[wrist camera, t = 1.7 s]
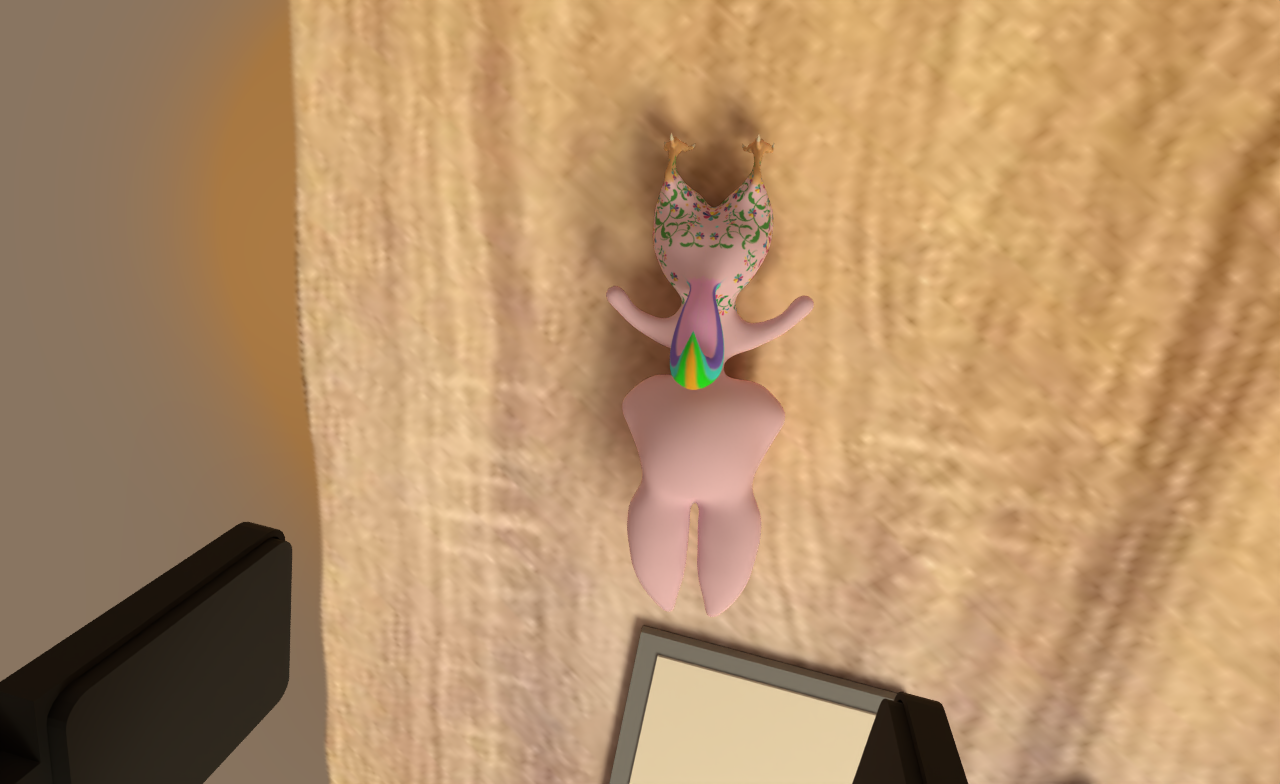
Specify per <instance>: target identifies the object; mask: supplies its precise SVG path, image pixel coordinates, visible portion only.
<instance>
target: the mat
mask: <svg viewBox="0 0 1280 784" xmlns="http://www.w3.org/2000/svg"><path fill="white" fill-rule="evenodd" d="M896 695H897V693H894V692H890V691H886V690H882V689H879V688H875V687H871V686H867V685H864V684H860V683H856V682H853V681H849V680H845V679H841V678H838V677H834V676H830V675H826V674H823V673H819V672H815V671H811V670H808V669H804V668H800V667H796V666H793V665H789V664H785V663H781V662H778V661H774V660H770V659H767V658H763V657H759V656H755V655H752V654H748V653H744V652H740V651H737V650H733V649H729V648H725V647H722V646H718V645H714V644H710V643H707V642H703V641H699V640H695V639H692V638H688V637H684V636H681V635H677V634H673V633H669V632H666V631H662V630H658V629H654V628H651V627H647V626H643V627H642V631H641V635H640V639H639V644H638V649H637V654H636V659H635V663H634V668H633V673H632V678H631V683H630V687H629V692H628V697H627V702H626V707H625V711H624V716H623V721H622V726H621V731H620V735H619V740H618V745H617V750H616V755H615V759H614V764H613V769H612V774H611V779H610V783H609V784H852V783H853V780H854V777H855V774H856V771H857V768H858V766H859V763H860V760H861V757H862V754H863V751H864V748H865V745H866V743H867V740H868V737H869V734H870V731H871V728H872V725H873V723H874V720H875V717H876V714H877V711H878V708H879V706H880V703H881V701H882V700H883V699H889V700H893V701H894V699H895V696H896Z"/></svg>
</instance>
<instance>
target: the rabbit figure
mask: <svg viewBox="0 0 1280 784" xmlns="http://www.w3.org/2000/svg"><path fill="white" fill-rule="evenodd" d="M694 147H695V143H694V144H693V145H692V146H690V147H689V146H687V144H686V143H684V142H682V141H680V140H679V139H678V138H677V137H673V136H672V133H671V136H670V141H669V142H667V143H665V142H664V150H665V151H669V164H668V167H667V169H666V172H665V181H664V183H663V186H662V189H661V192H660V195H659V198H658V201H657V205H656V208H655V215H654V226H653V244H654V250H655V254H656V257H657V259H658V262H659V264H660V267H661V269H662V271H663V273H664V275H665V276H666V278H667V279H668V281H669V282H670V283H671V285H672V286H673V287H674V288H675V289H676V291H677V292H678V293H679V295H680V297H681V300H682V303H681V306H680V308H679V310H678V311H677V312H676V313H675V314H674V315H673V316H671V317H668V318H659V317H655V316H652V315H650V314H648V313H646V312H644V311H642V310H640V309H639V308H637V307H636V306H635V305H634V304H633V303H632V302H631V300H630V299H629V297H628V296H627V294H626V293H625V291H624V290H623V289H621V288H620V287H618V286H613V287H611V288H609V289H608V290H607V293H606V297H607V299H608V301H609V302H610V304H611V305H612V306H613V307H614V308H615V309H616V310H617V311H618V312H619V313H620V314H621V315H622V316H623V317H624V318H625V319H626V320H627V321H628V322H629V323H630V324H631V325H632V326H633V327H635V328H636V329H637V330H639V331H640V332H642V333H643V334H645V335H647V336H648V337H650V338H651V339H653V340H654V341H656V342H658V343H660V344H662V345H664V346H666V347H669V348H670V349H671V350H670V370H671V375H668V374H664V375H655V376H651V377H649V378H647V379H645V380H643V381H642V382H640V383H639V384H638V385H636V386H635V387H634V388H633V389H632V390H631V391H630V392H629V393H628V394H627V395H626V396H625V398H624V400H623V403H622V411H623V414H624V417H625V419H626V422H627V424H628V426H629V429H630V431H631V434H632V436H633V439H634V442H635V444H636V447H637V450H638V453H639V457H640V461H641V466H642V473H643V476H642V481H641V484H640V486H639V488H638V489H637V491H636V493H635V494H634V496H633V498H632V500H631V502H630V505H629V510H628V521H627V531H628V541H629V547H630V554H631V560H632V564H633V568H634V570H635V573H636V575H637V577H638V579H639V581H640V583H641V585H642V586H643V588H644V589H645V590H646V592H647V593H648V594H649V596H650V597H651V598H652V599H653V600H654V601H655V602H656V603H657V604H658V605H659V606H660V607H661V608H662V609H663V610H665V611H672V610H673V609H674V607H675V602H676V598H677V595H678V591H679V589H680V586H681V583H682V580H683V575H684V570H685V564H686V555H687V546H688V535H689V522H690V509H691V506H692V504H693V503H697V504H698V507H699V519H698V557H697V567H698V577H699V583H700V587H701V591H702V595H703V599H704V604H705V609H706V613H707V615H708V616H710V617H715V616H717V615H719V614H721V613H722V612H724V611H725V610H726V609H727V608H729V606H730V605H731V604H732V603H733V602H734V601H735V600H736V599H737V598H738V597H739V595H740V594H741V593H742V591H743V590H744V588H745V586H746V584H747V582H748V580H749V578H750V575H751V572H752V569H753V565H754V562H755V558H756V555H757V551H758V547H759V542H760V535H761V516H760V512H759V509H758V506H757V503H756V500H755V498H754V494H753V489H752V483H753V479H754V475H755V473H756V470H757V468H758V466H759V464H760V462H761V461H762V459H763V457H764V456H765V454H766V452H767V451H768V449H769V447H770V446H771V444H772V442H773V440H774V439H775V437H776V436H777V434H778V433H779V431H780V430H781V428H782V426H783V424H784V421H785V412H784V410H783V407H782V406H781V404H780V403H779V401H778V400H777V399H776V398H775V397H774V396H773V395H772V394H771V393H770V392H769V391H768V390H767V389H766V388H765V387H763V386H762V385H760V384H758V383H755V382H752V381H748V380H741V379H735V378H731V377H728V376H727V375H726V374H725V372H724V364H725V362H726V361H727V360H728V359H729V358H730V357H732V356H734V355H736V354H738V353H741V352H745V351H748V350H751V349H754V348H756V347H758V346H760V345H762V344H765V343H767V342H769V341H771V340H773V339H775V338H777V337H779V336H780V335H782V334H784V333H785V332H787V331H788V330H789V329H791V328H792V327H793V326H794V325H796V324H797V323H798V322H799V321H800V320H802V319H803V318H804V317H805V316H807V315H808V314H809V313H810V312H811V311H812V309H813V306H814V302H813V300H812V299H811V298H810V297H808V296H801V297H798V298H797V299H795V300H794V301H793V302H792V303H791V305H790V306H789V307H788V308H787V309H786V310H785V311H784V312H783V313H782V314H781V315H779V316H777V317H775V318H773V319H770V320H767V321H764V322H760V323H749V322H746V321H744V320H743V319H742V318H741V317H740V316H739V314H738V312H737V309H736V304H735V303H736V297H737V295H738V294H739V292H740V291H741V290H742V289H743V288H744V287H745V286H746V285H747V284H748V283H749V282H750V281H751V279H752V278H753V277H754V275H755V274H756V272H757V271H758V269H759V267H760V266H761V264H762V263H763V261H764V259H765V257H766V255H767V253H768V250H769V247H770V243H771V239H772V232H773V211H772V207H771V204H770V201H769V198H768V195H767V192H766V189H765V187H764V184H763V182H762V178H761V172H760V164H761V161H762V157H763V154H764V153H765V152H766V153H769V152H770V153H772V152H773V149H774V144H773V145H772V147H771V145H770V144H768V143H766V142H764V141H763V140H762V139H761V138H760V136H759V134H758V137H757V139H755V142H753V143H752V144H750V145H749V146H748V147H747V148H746V147H745V146H744V145H743V144H742V148H743V150H744V151H748V152H749V153H753V154H754V166H753V170H752V172H751V174H750V175H749V176H748V178H747V179H746V180H745V181H744V183H743V184H742V185H741V186H740V187H739V188H738V189H736V190H735V191H734V192H733V193H732V194H730V195H729V196H728V197H727V198H726V199H725V200H724V201H723V202H722V203H721V204H720V205H719V206H718V207H711V206H710V205H708V203H707V202H706V201H705V199H704V198H703V197H702V196H701V195H700V194H699V193H697V192H696V191H695V190H693V189H692V188H691V187H689V186H688V185H687V184H686V183H685V182H684V181H683V179H682V178H681V177H680V175H679V174H678V172H677V169H676V158H677V155H678V154H679V153H680V152H681V151H684V152H686V151H687V150H692V149H693V148H694Z"/></svg>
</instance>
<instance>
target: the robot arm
mask: <svg viewBox="0 0 1280 784" xmlns="http://www.w3.org/2000/svg"><path fill="white" fill-rule="evenodd" d="M291 579H292V547H291V544H290V543H289V542H287V541H285V536H284V534H283V532H281V531H280V530H278V529H274V528H270V527H266V526H262V525H258V524H254V523H250V522H243V523H240V524H238V525H236V526H235V527H233V528H232V529H230V530H229V531H228V532H226V533H224V534H223V535H221V536H220V537H218V538H217V539H216V540H214V541H212V542H211V543H209V544H208V545H206V546H205V547H203V548H202V549H201V550H199V551H197V552H196V553H194V554H193V555H191V556H190V557H188V558H187V559H185V560H184V561H182V562H181V563H179V564H178V565H176V566H175V567H173V568H172V569H170V570H169V571H167V572H165V573H164V574H163V575H161V576H159V577H158V578H156V579H155V580H154V581H152V582H151V583H149V584H147V585H146V586H144V587H143V588H141V589H140V590H138V591H137V592H135V593H134V594H132V595H131V596H129V597H128V598H126V599H125V600H123V601H122V602H120V603H119V604H117V605H116V606H115V607H113V608H111V609H110V610H108V611H107V612H105V613H104V614H102V615H101V616H99V617H98V618H96V619H95V620H93V621H92V622H90V623H88V624H87V625H85V626H84V627H82V628H81V629H79V630H78V631H77V632H75V633H73V634H72V635H70V636H69V637H67V638H66V639H64V640H63V641H61V642H60V643H58V644H57V645H55V646H54V647H52V648H51V649H49V650H48V651H46V652H45V653H43V654H42V655H40V656H39V657H37V658H36V659H34V660H33V661H31V662H30V663H28V664H27V665H25V666H24V667H22V668H21V669H19V670H18V671H16V672H15V673H13V674H11V675H10V676H9V677H7V678H6V679H4V680H2V681H1V682H0V784H203V783H204V782H205V781H206V780H207V778H208V777H209V776H210V775H211V774H212V773H213V772H214V771H215V770H216V769H217V768H218V767H219V766H220V765H221V763H222V762H223V761H224V760H225V759H226V758H227V757H228V756H229V755H230V754H231V753H232V752H233V751H234V749H235V748H236V747H237V746H238V745H239V744H240V743H241V742H242V741H243V740H244V739H245V738H246V737H247V735H248V734H249V733H250V732H251V731H252V730H253V729H254V728H255V727H256V726H257V724H259V722H260V721H261V720H262V719H263V718H264V717H265V716H266V715H267V714H268V713H269V712H270V711H271V710H272V708H273V707H274V706H275V705H276V704H277V703H278V702H279V700H280V699H281V698H282V696H283V694H284V692H285V690H286V688H287V685H288V681H289V661H290V619H291ZM852 784H968V782H967V779H966V776H965V773H964V769H963V766H962V763H961V760H960V757H959V754H958V751H957V748H956V744H955V741H954V738H953V735H952V732H951V729H950V726H949V723H948V720H947V716H946V713H945V710H944V708H943V706H942V704H941V703H940V702H938V701H934V700H930V699H927V698H923V697H919V696H915V695H911V694H907V693H904V692H899V693H898V694H897V695H896V696H895V699H894V701H893V700H889V699H883V700H882V701H881V703H880V706H879V708H878V711H877V714H876V717H875V720H874V723H873V725H872V728H871V731H870V734H869V737H868V740H867V743H866V745H865V748H864V751H863V754H862V757H861V760H860V763H859V766H858V768H857V771H856V774H855V777H854V780H853V783H852Z"/></svg>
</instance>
